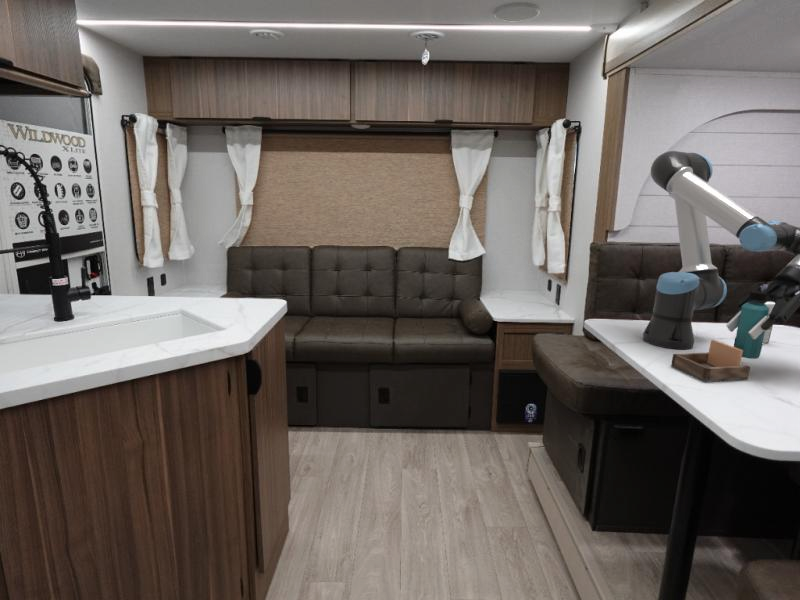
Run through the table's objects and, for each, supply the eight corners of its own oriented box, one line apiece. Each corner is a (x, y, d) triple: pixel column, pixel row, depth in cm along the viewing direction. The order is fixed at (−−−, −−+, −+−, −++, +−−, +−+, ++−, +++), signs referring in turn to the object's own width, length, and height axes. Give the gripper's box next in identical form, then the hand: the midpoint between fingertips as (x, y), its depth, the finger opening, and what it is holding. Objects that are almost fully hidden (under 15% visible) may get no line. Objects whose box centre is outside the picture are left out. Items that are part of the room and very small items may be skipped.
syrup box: (752, 338, 174) (761, 299, 170) (769, 343, 168) (778, 303, 165) (741, 339, 172) (749, 299, 169) (757, 344, 166) (766, 303, 163)
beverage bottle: (762, 365, 135) (777, 295, 130) (734, 361, 137) (748, 292, 132) (754, 358, 141) (769, 290, 136) (727, 354, 143) (741, 288, 138)
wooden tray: (710, 364, 144) (713, 352, 144) (747, 379, 133) (750, 366, 132) (671, 366, 141) (673, 353, 140) (704, 382, 130) (707, 369, 129)
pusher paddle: (709, 362, 142) (714, 339, 141) (738, 374, 134) (743, 350, 132) (706, 362, 142) (711, 339, 141) (735, 374, 133) (740, 350, 132)
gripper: (841, 291, 128) (778, 352, 128) (771, 277, 147) (716, 330, 147) (830, 271, 126) (767, 333, 126) (760, 259, 144) (705, 314, 144)
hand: (740, 332), depth 136 cm, fingers closed on beverage bottle, 6 cm apart
